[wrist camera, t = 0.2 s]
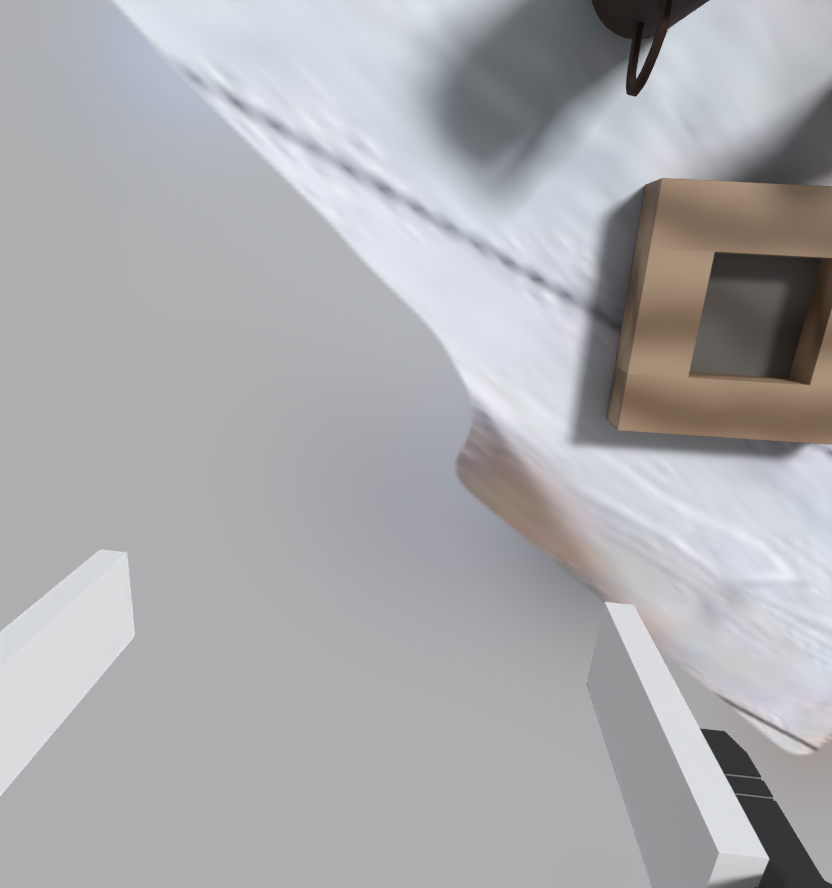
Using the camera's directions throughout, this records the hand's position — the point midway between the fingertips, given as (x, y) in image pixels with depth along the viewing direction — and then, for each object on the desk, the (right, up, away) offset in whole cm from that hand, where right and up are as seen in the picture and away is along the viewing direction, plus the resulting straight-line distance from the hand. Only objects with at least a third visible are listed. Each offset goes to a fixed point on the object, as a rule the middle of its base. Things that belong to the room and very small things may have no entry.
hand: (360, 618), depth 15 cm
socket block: (+24, +14, +23) cm, 36 cm away
